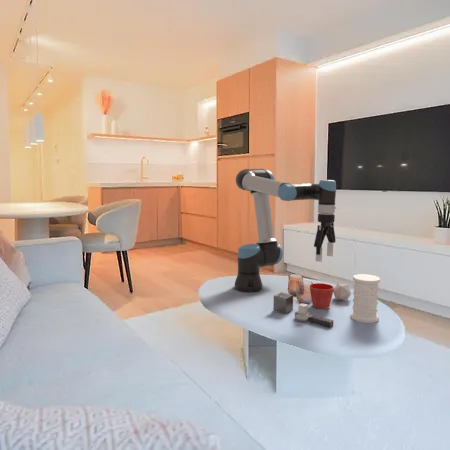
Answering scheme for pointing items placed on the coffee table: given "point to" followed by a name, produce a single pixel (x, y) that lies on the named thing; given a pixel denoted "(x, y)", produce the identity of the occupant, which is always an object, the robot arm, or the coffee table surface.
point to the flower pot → (321, 295)
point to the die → (342, 292)
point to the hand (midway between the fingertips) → (324, 258)
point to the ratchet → (311, 317)
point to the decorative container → (365, 298)
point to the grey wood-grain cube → (283, 303)
